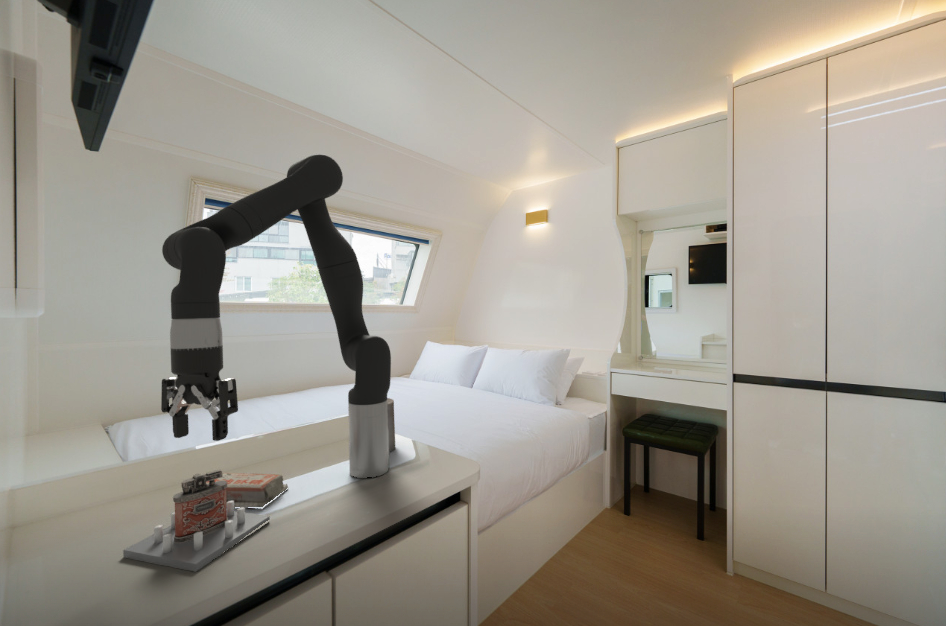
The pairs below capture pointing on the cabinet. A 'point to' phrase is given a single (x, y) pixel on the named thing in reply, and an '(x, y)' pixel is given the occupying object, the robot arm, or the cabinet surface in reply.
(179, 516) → the lighter
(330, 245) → the robot arm
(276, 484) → the packaged product
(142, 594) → the cabinet surface
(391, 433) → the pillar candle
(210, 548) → the pin tray
